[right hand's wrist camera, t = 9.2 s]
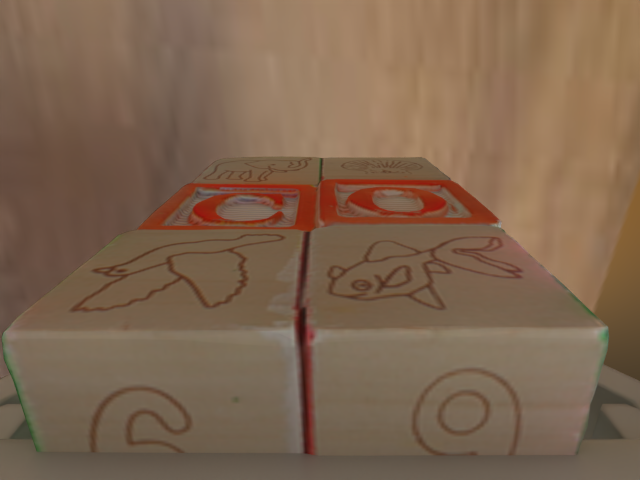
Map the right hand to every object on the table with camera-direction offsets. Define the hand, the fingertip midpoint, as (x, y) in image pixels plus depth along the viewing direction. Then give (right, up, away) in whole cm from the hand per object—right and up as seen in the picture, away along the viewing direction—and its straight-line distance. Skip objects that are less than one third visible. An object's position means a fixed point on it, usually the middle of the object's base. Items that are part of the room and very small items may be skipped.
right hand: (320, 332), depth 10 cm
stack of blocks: (0, -5, +6) cm, 8 cm away
